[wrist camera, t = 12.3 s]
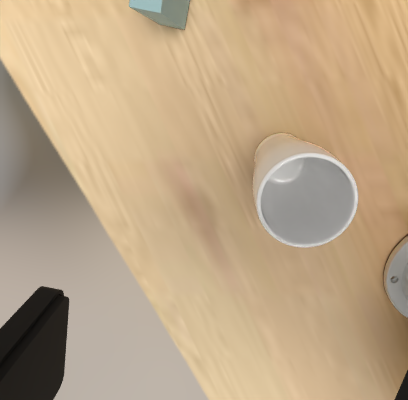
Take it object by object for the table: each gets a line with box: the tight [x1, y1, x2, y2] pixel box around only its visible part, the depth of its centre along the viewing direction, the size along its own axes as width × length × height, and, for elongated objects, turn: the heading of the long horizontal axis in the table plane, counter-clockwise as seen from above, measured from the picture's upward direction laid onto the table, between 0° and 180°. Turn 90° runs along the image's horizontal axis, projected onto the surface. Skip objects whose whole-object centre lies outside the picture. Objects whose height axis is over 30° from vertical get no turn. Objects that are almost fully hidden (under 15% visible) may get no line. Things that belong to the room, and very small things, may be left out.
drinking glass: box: [253, 133, 358, 248], centre depth 31 cm, size 7×7×15 cm
